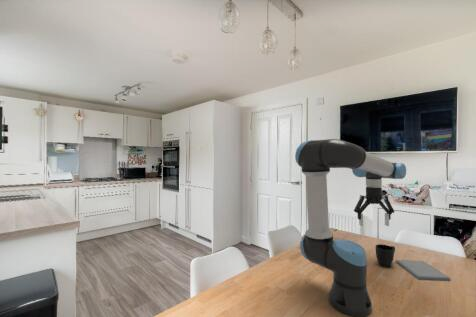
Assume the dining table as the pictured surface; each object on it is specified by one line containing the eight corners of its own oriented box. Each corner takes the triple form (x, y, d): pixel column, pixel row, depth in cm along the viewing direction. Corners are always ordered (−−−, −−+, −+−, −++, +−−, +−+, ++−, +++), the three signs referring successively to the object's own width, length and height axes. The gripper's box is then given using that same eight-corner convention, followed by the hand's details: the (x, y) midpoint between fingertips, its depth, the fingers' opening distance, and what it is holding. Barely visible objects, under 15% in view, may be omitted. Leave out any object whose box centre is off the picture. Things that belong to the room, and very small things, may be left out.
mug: (402, 265, 123) (402, 247, 123) (386, 269, 118) (386, 251, 118) (387, 259, 130) (387, 242, 130) (372, 263, 126) (372, 245, 125)
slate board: (450, 280, 107) (450, 278, 107) (418, 279, 109) (418, 276, 109) (423, 263, 125) (423, 260, 125) (395, 262, 126) (395, 259, 126)
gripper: (393, 185, 129) (393, 223, 129) (347, 185, 131) (347, 223, 131) (402, 187, 122) (402, 227, 122) (353, 187, 123) (353, 227, 124)
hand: (373, 225), depth 126 cm, fingers open, 13 cm apart
